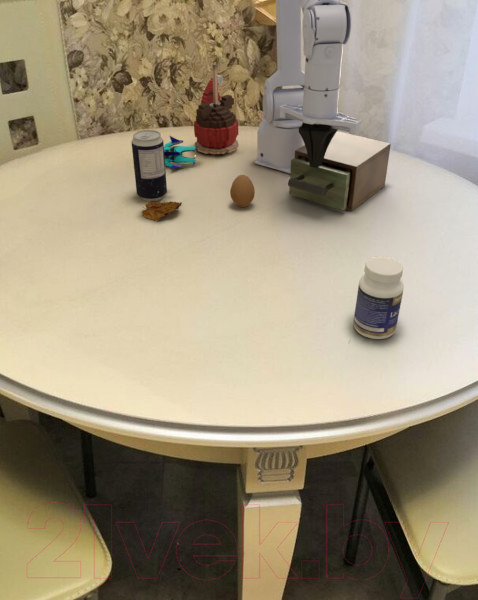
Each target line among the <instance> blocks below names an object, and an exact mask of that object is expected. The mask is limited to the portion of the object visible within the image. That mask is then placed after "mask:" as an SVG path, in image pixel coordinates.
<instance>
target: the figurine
mask: <svg viewBox="0 0 478 600" xmlns="http://www.w3.org/2000/svg"><path fill="white" fill-rule="evenodd" d="M169 139H170V141H169V142H167V143H165V144H164V156H165V166H167V167H169V169H180V170H181V169H185V168H184V166H183V165H181V164H189V163H190V164H193V165H196V164H197V162H196V161H197V160H196V158H197V155H196V154H195V155H194V156H193V157H188V156H184V155H183V153H186V152H187V153H188V152H196V149H195V145H193V146H192V145H191V146H190V145H189V146H188V145H180V144H183V143H184V140H182V139H177V138H176V137H173V136H171V135H169Z"/></svg>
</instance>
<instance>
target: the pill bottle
mask: <svg viewBox="0 0 478 600" xmlns="http://www.w3.org/2000/svg"><path fill="white" fill-rule="evenodd" d="M364 264H365V265H364V268H363V269H364V271H363V272H364V273H363V274H362V275H361V276H360V277H359V281H358V287H357V295H356V300H355V309H354V314H353V323H352V324H353V327H354V329H355V331H356V332H357V333H358V334H360V335H361V336H363V337H366V338H368V339H373V340H384V339H387V338H390V337H391V336H393V335H394V334H395V333H396V331H397V326H398V320H399V316H400V309H401V305H402V299H403V295H404V288H405V287H404V282H403V280H402V278H403V272H404V266H403V264H402V263H401V262H400V261H399V260H398V259H396V258H393V257H389V256H385V255H384V256H383V255H381V256H380V255H379V256H372V257H369V258H368V259H367V260H366V262H365V263H364Z"/></svg>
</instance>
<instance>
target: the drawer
mask: <svg viewBox="0 0 478 600" xmlns="http://www.w3.org/2000/svg"><path fill="white" fill-rule="evenodd" d="M351 178H352V170H350V169H347V168H343V167H339V166H335V165H332V164H328V163H324V162H322V165H321V166H319V167H318V168H313V167H310V165H309V159H308V158H306V157H302V160H301V159H297V158H293V159H292V160H291V171H290V173H289V180H288V183H287V185H288V187H289V191H288V192H289V193H288V194H289V195H290V196H294V197H297V198H300V199H304V200H307V201H310V202H313V203H316V204H319V205H323V206H326V207H329V208H333V209H336V210H340V211H345V209H346V207H347V202H349V196H350V187H351Z"/></svg>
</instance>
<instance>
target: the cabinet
mask: <svg viewBox="0 0 478 600" xmlns="http://www.w3.org/2000/svg"><path fill="white" fill-rule="evenodd" d="M391 145H392V144H391V143H390V142H385V141H381V140H377V139H372V138H369V137H364V136H360V135H357V134H356V135H352V134H350V133H349V132H345V131H340V130H338V131H337V132H336V133H335V135H334V137H333V138H332V140H331V142H330V144H329V146H328V148H327V150H326V153H325V156H324V159H323V162H324V163H328V164H332V165H335V166H339V167H343V168H347V169H350V170H352V178H351V187H350V196H349V202H347V207H346V209H345V210H346V211H348V212H353V211H355V210H356V209H357V208H358V207H359V206H361V205H363V203H365V202H367V200H369V199H370V198H371V197H372V196H374V195H375V194H376V193H378V192H379V191H381V190H382V189H383V188H384V187H385V186H386V179H387V174H388V165H389V158H390V152H391V147H392V146H391ZM302 157H306V158H308V154H307V150H306V147H305V145H304V146H302V147H301V148H299V149H297V150H295V158H297V159H301V160H302ZM345 210H344V211H345Z"/></svg>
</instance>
